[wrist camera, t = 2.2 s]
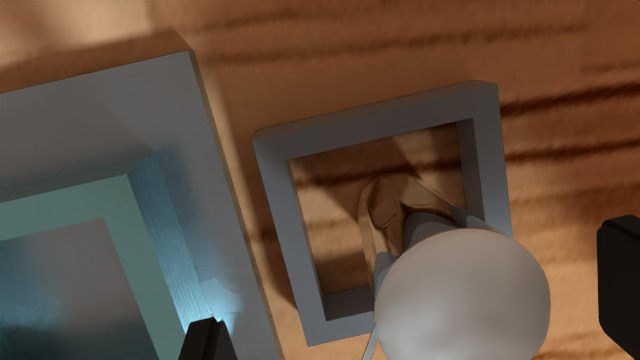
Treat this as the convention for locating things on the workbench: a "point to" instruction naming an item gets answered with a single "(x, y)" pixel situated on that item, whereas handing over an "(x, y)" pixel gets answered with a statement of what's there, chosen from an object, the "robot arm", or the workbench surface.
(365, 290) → the square picture frame
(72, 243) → the panel
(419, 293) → the milkshake
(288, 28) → the workbench surface
